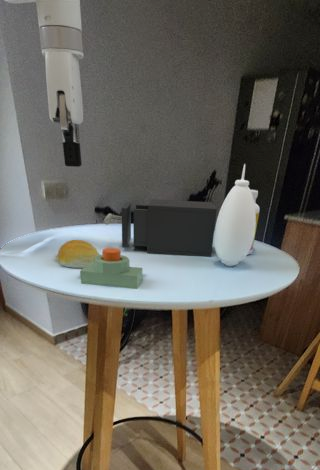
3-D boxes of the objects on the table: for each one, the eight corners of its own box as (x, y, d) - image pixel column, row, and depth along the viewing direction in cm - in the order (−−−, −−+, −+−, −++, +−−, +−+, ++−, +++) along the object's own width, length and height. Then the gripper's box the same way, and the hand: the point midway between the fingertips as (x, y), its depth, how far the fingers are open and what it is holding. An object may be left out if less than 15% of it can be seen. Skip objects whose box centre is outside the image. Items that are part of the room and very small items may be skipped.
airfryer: (147, 253, 83) (148, 205, 77) (149, 243, 91) (150, 198, 85) (211, 256, 83) (216, 208, 77) (207, 246, 91) (212, 202, 85)
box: (80, 284, 63) (78, 260, 61) (90, 274, 68) (88, 251, 66) (136, 289, 62) (136, 265, 60) (142, 279, 67) (143, 256, 65)
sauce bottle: (204, 261, 79) (215, 161, 68) (234, 259, 82) (249, 162, 71) (223, 271, 73) (239, 164, 63) (255, 268, 76) (275, 165, 66)
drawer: (103, 246, 83) (101, 207, 78) (109, 237, 90) (107, 201, 85) (181, 250, 83) (184, 211, 78) (180, 241, 90) (183, 205, 85)
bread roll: (57, 269, 70) (54, 247, 67) (59, 257, 77) (57, 236, 74) (101, 269, 71) (99, 247, 69) (99, 257, 78) (98, 236, 76)
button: (100, 262, 62) (100, 251, 61) (105, 258, 64) (105, 247, 63) (118, 263, 62) (117, 253, 61) (122, 259, 64) (122, 248, 63)
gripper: (52, 52, 72) (64, 163, 83) (28, 35, 60) (46, 167, 72) (90, 53, 72) (96, 164, 83) (73, 37, 60) (84, 169, 71)
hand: (73, 165), depth 77 cm, fingers closed
